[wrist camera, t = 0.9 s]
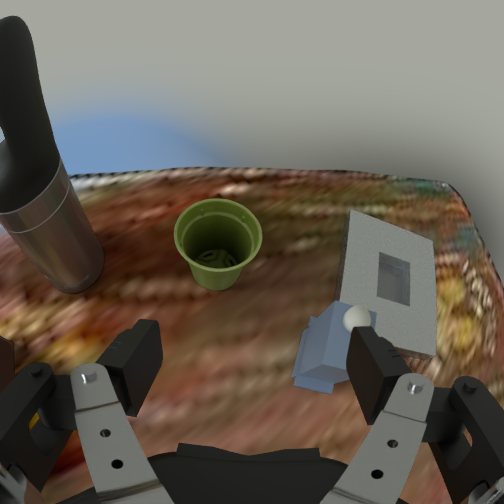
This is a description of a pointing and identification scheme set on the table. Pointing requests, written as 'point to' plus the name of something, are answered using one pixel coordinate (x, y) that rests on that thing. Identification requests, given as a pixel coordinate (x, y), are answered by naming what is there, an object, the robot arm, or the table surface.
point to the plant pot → (217, 241)
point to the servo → (328, 346)
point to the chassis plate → (390, 282)
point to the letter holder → (6, 363)
